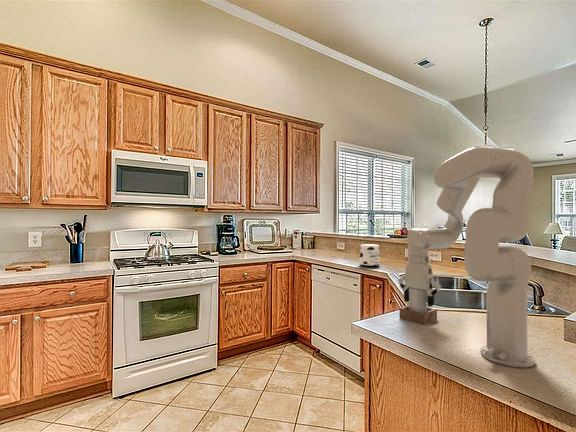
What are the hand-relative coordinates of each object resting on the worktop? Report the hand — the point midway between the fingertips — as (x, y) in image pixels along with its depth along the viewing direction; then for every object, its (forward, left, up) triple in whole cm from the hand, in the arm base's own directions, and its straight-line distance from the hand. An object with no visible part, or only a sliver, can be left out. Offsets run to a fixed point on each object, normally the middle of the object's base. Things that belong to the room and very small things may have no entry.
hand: (418, 303), depth 124 cm
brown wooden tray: (0, 0, -6) cm, 6 cm away
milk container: (+100, +100, -6) cm, 142 cm away
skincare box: (0, 0, -6) cm, 6 cm away
